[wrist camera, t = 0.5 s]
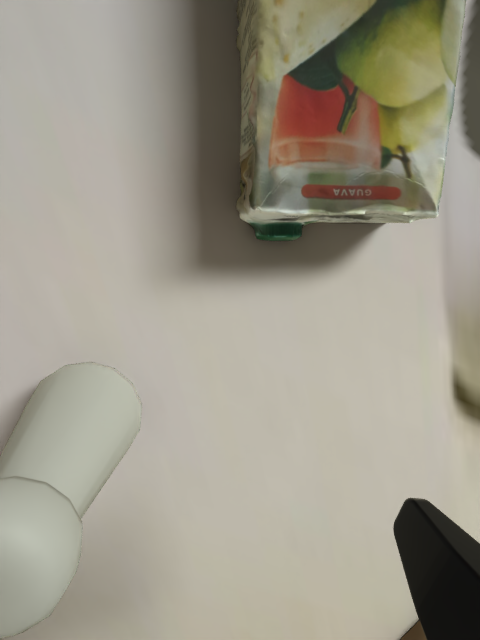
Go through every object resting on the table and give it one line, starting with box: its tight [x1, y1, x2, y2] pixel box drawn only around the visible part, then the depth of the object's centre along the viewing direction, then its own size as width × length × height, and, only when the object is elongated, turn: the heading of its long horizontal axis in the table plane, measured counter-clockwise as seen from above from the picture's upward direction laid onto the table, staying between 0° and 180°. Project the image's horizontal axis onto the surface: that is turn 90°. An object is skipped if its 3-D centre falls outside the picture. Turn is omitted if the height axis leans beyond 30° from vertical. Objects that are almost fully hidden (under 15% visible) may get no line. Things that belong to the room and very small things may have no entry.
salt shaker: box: [0, 362, 142, 638], centre depth 16 cm, size 6×6×13 cm
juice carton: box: [236, 0, 466, 241], centre depth 18 cm, size 20×10×6 cm, turn 1°
